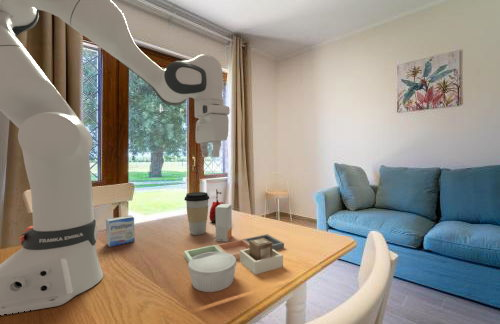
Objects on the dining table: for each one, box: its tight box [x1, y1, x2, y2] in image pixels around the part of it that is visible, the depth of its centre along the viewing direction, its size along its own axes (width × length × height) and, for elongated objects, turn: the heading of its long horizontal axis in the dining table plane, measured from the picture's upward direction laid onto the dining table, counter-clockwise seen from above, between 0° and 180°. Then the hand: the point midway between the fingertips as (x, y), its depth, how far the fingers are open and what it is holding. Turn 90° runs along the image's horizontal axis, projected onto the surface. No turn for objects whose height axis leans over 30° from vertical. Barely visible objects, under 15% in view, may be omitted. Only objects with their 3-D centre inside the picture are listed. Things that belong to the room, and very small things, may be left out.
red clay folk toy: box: [208, 188, 225, 224], centre depth 106 cm, size 8×7×15 cm
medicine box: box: [105, 215, 135, 248], centre depth 82 cm, size 8×4×9 cm, turn 131°
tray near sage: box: [183, 244, 223, 263], centre depth 68 cm, size 10×10×2 cm
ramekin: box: [187, 252, 237, 293], centre depth 56 cm, size 11×11×5 cm
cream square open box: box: [239, 249, 284, 276], centre depth 64 cm, size 8×8×4 cm
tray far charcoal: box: [242, 234, 285, 251], centre depth 77 cm, size 10×10×2 cm
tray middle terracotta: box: [215, 238, 249, 261], centre depth 72 cm, size 10×10×2 cm
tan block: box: [249, 238, 273, 261], centre depth 64 cm, size 4×5×6 cm
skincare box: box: [215, 203, 233, 242], centre depth 84 cm, size 6×4×12 cm
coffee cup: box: [183, 191, 210, 236], centre depth 92 cm, size 9×9×15 cm
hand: (210, 157), depth 74 cm, fingers open, 8 cm apart
